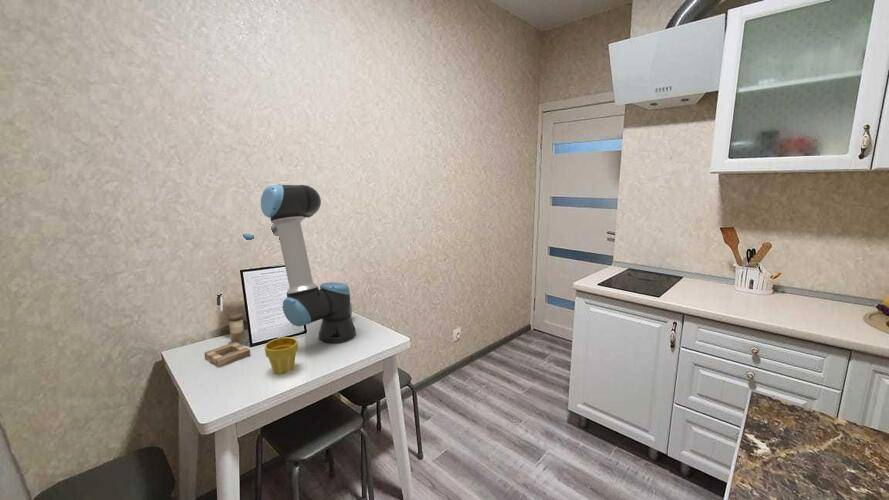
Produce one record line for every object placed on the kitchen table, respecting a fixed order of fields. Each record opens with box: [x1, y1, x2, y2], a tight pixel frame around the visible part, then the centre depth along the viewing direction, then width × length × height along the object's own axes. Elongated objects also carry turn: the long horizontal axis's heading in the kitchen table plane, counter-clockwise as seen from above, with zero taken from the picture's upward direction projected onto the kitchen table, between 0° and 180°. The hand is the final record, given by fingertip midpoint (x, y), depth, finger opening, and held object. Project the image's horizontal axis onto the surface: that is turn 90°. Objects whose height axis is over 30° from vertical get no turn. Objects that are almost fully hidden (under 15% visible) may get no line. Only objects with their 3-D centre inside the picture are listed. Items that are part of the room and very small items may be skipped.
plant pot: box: [264, 336, 299, 375], centre depth 125 cm, size 10×10×10 cm
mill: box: [227, 311, 246, 344], centre depth 145 cm, size 5×5×12 cm
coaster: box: [227, 338, 249, 346], centre depth 146 cm, size 7×7×1 cm
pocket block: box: [203, 342, 251, 368], centre depth 134 cm, size 11×11×2 cm
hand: (240, 310), depth 153 cm, fingers open, 13 cm apart
